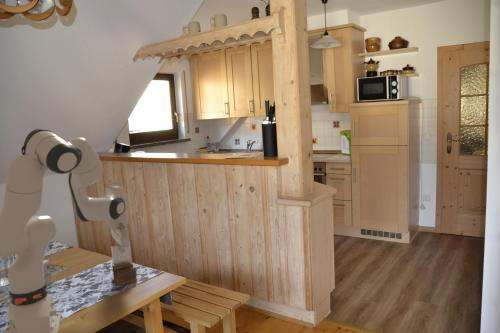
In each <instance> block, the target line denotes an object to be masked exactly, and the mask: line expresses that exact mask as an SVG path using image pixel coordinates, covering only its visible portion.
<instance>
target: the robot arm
mask: <svg viewBox="0 0 500 333" xmlns="http://www.w3.org/2000/svg"><path fill="white" fill-rule="evenodd" d="M48 169H49V171H51V172H54V173H56V174H60V175H64V174H68V173H69V175H68V186H69V191H70V193H71V196H72V199H73V203H74V206H75V213H76V216H77V218H78V219H79V220H81V222H83V223H86V222H87V223H88V222H93V221H95V222H97V221H101V222H102V221H103V222H104V221H107V226H108V228H109V230H110V235H111V237H112V238H113V239H114V240H115V241H116V245H120V252H121V253H123V252H125V249H124V248H125V247H127V246H129V245H130V246H131V242H130V236H129V230H128V228H127V226H129V223H130V221H129V220H130V219H129V212H128V208H127V206H128V202H127V200H128V199H127V194H126V191H125V187H123V186H121V185H118V186H117V185H112V186H107V187H105V195H104V197H90V196H87V192H86V189H85V188H86V187H89V186H92V185H94V184H95V183H96V182H98V181H99V180H100V179H101V177H102V174H103V172H104V168H103V164H102V161H101V158H100V156H99V155H98V152H97V151H96V150H95V148H94V146H93V145H92V144H91V142H90V141H89V140H87V138H85V137H80V136H79V137H73V138H71V139H68V140H65V139H64V138H63V137H62V136H59V135H58V134H56V133H53V132H52V131H51V130H48V129H45V128H36V129H33V130H31V131H30V132H28V134H27V136H26V137H25V140H24V142H23V145H22V147H21V155H17V156H15V157H13V159H11V160H10V163H9V166H8V169H7V174H6V180H5V191H4V201H3V206H2V209H1V211H0V259H3V258H4V259H5V258H8V257H12V256H14V255H17V254H18V256H17V257H16V259H15V261H13V263H12V264H11V265H10V266H9V267H8V269H7V270H8V271H7V276H8V277H7V278H8V283H9V284H8V285H9V291H8V292H9V301H10V303H9V305H8V306H7V307H6V311H7V319H8V321H7V324H8V325H6V326H5V327H3V329H2V331H3V333H59V331H60V325H61V319H62V312H60V311H57V309H56V308H55V306H56V304H55V301H54V298H53V295H51V294H49V293H48V291H49V290H48V285H46V282H45V280H44V271H43V260H45V256H46V251H47V249H48V247H49V245H50V243H51V242H52V240H53V239H54V238H55V236H57V235H56V234H57V232H58V231H57V230H58V229H57V228H58V227H57V223H56V222H55V220H54V219H53V218H52V217H51V216H49V215H47V214H46V215H45V214H44V215H36V214H37V213H38V212H39V210H40V208H41V207H42V206H41V205H42V197H43V189H44V188H43V187H44V176H45V174H46V172H47V170H48Z"/></svg>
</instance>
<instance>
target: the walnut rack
mask: <svg viewBox="0 0 500 333" xmlns="http://www.w3.org/2000/svg"><path fill="white" fill-rule="evenodd" d="M111 267H112V276H113V280H114V281H115V282H116V284H117V286H121V284H122V285H125V284H129V283H132V282H136V281H137V280H138V278H137V270H136V269H137V268H136V267H135V266H134V263H133V262H132V263H128V264H124V265H120V266H116V267H114V266H113V264H111Z"/></svg>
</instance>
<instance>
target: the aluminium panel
mask: <svg viewBox="0 0 500 333" xmlns="http://www.w3.org/2000/svg"><path fill="white" fill-rule="evenodd" d="M110 247H111V248H110V249H111V258H112V265H113V266H114V267H116V266H120V265H124V264H128V263H132V264H133V259H132V248H131V244H130V245H129V246H127V247H125V248H124V249H125V252H123V253H121V252H120V245H117V244H115V245H111V246H110Z"/></svg>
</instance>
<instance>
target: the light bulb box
mask: <svg viewBox="0 0 500 333" xmlns="http://www.w3.org/2000/svg"><path fill="white" fill-rule="evenodd" d="M50 265H51V264H50V260H49V259H44V260H43V271H44V280H45V282H46V285H47V286H48V285H50V284H52V283H53V278H52V272H51V271H52V270H51V266H50Z"/></svg>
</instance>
